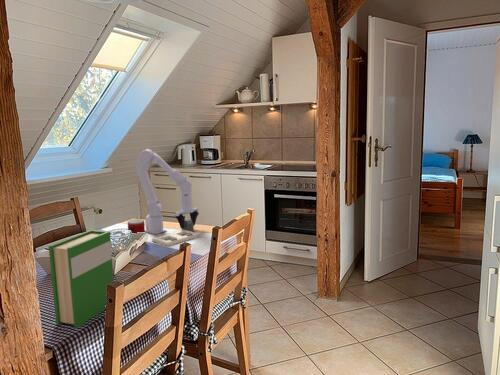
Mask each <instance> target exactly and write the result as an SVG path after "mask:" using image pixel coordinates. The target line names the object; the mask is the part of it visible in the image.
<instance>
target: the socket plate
mask: <svg viewBox="0 0 500 375" xmlns="http://www.w3.org/2000/svg"><path fill="white" fill-rule="evenodd" d="M199 237H200V233H199V232H194V231H187V230H182V229H181V230H178V231H173V232H170V233H167V234H163V235H160V236H156V237H153V238H151V239H152V240H151V241H152V242H153V243H157V244H159V245H163V246H167V247H169V246H172V245H176V244H179V243H183V242H186V241H189V239H190V240H193V239H196V238H199ZM185 240H186V241H185Z"/></svg>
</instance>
